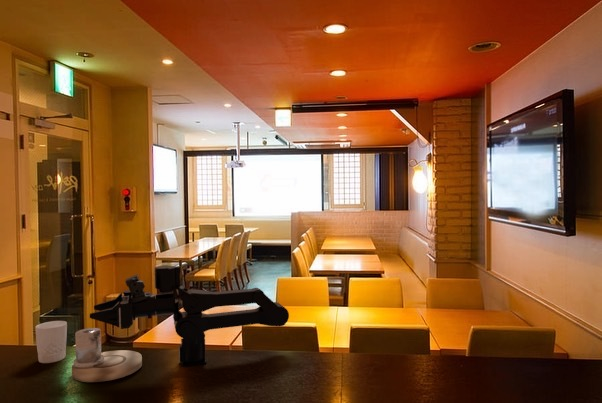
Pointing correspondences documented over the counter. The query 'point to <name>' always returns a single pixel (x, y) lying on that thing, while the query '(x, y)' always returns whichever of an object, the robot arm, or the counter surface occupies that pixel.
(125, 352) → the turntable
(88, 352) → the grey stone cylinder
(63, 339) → the white cup
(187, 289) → the robot arm
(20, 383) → the counter surface
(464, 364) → the counter surface
